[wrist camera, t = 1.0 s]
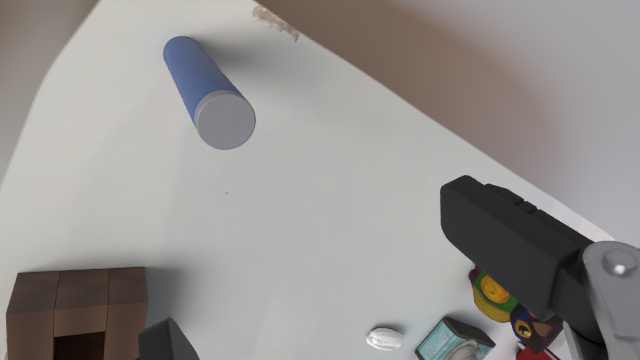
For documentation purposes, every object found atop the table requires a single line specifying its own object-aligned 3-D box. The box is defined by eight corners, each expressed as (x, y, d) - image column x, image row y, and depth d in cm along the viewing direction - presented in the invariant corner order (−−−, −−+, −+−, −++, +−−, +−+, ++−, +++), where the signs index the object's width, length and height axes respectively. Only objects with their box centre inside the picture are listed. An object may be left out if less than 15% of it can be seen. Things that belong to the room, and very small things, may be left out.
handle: (161, 69, 32) (192, 147, 19) (165, 32, 31) (201, 88, 18) (198, 76, 33) (249, 152, 21) (204, 40, 32) (261, 99, 20)
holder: (19, 355, 39) (9, 401, 35) (17, 272, 35) (5, 314, 31) (134, 340, 44) (137, 378, 40) (144, 266, 40) (147, 301, 36)
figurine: (484, 244, 65) (565, 308, 54) (506, 249, 69) (585, 311, 58) (453, 289, 68) (523, 360, 56) (475, 292, 72) (546, 359, 60)
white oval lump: (390, 341, 67) (400, 354, 65) (359, 336, 63) (368, 351, 61) (401, 328, 67) (411, 340, 65) (370, 322, 62) (380, 336, 60)
